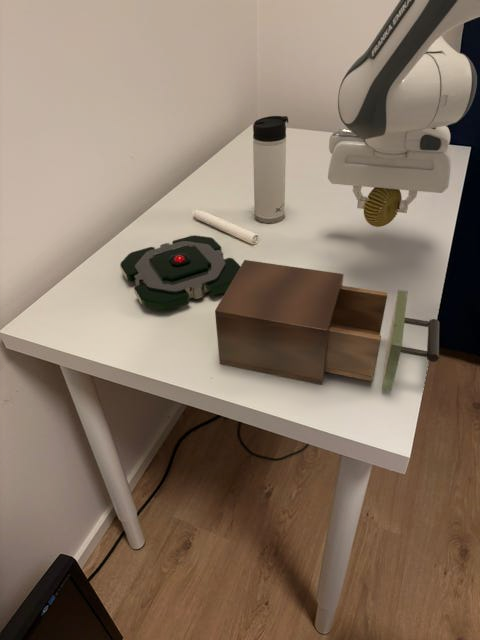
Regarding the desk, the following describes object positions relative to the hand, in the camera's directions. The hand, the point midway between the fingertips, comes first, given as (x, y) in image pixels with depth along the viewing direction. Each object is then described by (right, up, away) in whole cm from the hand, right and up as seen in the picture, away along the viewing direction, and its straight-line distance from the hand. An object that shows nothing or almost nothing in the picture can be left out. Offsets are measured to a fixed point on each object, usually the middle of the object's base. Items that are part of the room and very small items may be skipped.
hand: (382, 209), depth 88 cm
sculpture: (0, -3, +2) cm, 3 cm away
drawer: (-9, -25, -21) cm, 33 cm away
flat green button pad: (-36, -13, -2) cm, 38 cm away
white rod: (-29, -2, +11) cm, 31 cm away
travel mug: (-19, +2, +14) cm, 24 cm away
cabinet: (-20, -24, -17) cm, 35 cm away
